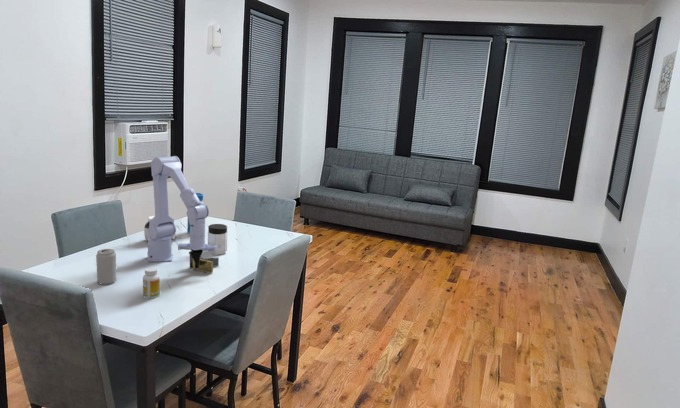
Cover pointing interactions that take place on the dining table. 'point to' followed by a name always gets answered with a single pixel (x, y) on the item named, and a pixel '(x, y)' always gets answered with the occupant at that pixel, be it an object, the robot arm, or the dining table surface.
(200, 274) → the dining table surface
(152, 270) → the supplement bottle
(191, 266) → the hinge base
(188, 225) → the beverage bottle
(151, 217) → the spread jar
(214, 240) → the jar
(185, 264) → the dining table surface
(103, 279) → the beverage can
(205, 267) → the brass leaf
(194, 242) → the robot arm
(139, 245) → the dining table surface
